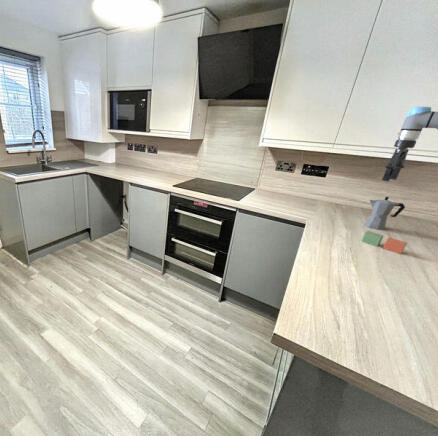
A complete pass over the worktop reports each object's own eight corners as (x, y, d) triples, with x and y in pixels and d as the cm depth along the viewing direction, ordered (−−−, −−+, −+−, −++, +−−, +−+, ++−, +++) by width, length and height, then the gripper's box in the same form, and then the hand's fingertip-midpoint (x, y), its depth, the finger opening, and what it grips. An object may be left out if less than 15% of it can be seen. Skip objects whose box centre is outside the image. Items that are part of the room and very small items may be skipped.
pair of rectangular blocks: (402, 252, 106) (407, 242, 104) (400, 254, 105) (405, 244, 103) (363, 239, 117) (367, 230, 115) (361, 241, 115) (365, 231, 113)
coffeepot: (362, 226, 135) (375, 196, 128) (357, 221, 143) (369, 193, 136) (397, 233, 129) (413, 201, 122) (389, 227, 137) (404, 197, 130)
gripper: (403, 139, 132) (386, 177, 139) (390, 138, 119) (372, 179, 126) (422, 140, 126) (404, 180, 134) (410, 139, 113) (391, 182, 121)
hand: (389, 180), depth 130 cm, fingers open, 13 cm apart
